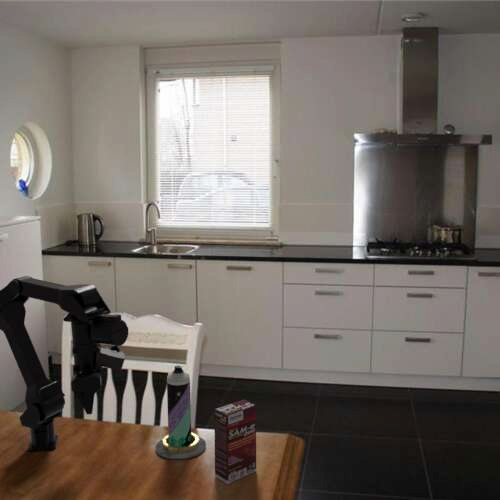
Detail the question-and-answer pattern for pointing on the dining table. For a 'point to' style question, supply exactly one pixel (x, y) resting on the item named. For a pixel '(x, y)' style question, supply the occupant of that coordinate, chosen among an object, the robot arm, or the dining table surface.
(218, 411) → the supplement box
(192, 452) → the dock
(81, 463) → the dining table surface
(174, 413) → the spray can
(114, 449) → the dining table surface
